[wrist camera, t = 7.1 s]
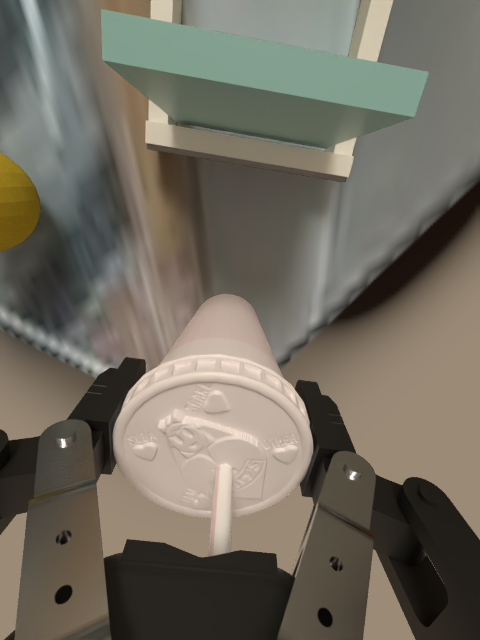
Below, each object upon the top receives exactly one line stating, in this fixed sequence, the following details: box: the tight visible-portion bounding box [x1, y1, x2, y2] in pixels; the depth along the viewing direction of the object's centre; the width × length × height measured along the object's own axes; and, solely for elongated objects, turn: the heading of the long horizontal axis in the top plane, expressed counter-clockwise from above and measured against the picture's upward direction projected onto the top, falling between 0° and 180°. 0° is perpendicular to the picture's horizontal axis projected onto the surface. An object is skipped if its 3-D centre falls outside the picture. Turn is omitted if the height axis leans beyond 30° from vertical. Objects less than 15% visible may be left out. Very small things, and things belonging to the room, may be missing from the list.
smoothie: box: [112, 294, 313, 557], centre depth 12 cm, size 6×6×14 cm
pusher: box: [101, 9, 429, 148], centre depth 12 cm, size 8×1×10 cm, turn 81°
